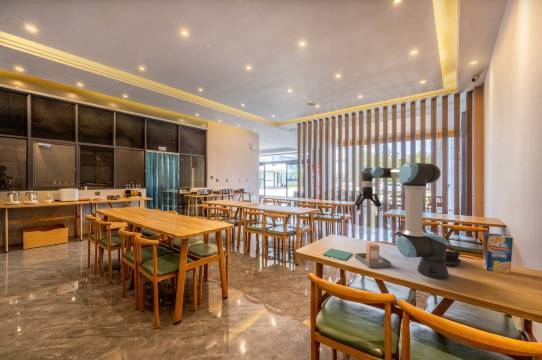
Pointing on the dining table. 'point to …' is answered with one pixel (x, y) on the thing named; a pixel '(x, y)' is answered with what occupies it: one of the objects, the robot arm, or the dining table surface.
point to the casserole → (452, 256)
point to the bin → (372, 265)
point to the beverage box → (497, 253)
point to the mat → (338, 254)
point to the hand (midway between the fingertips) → (368, 214)
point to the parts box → (372, 252)
